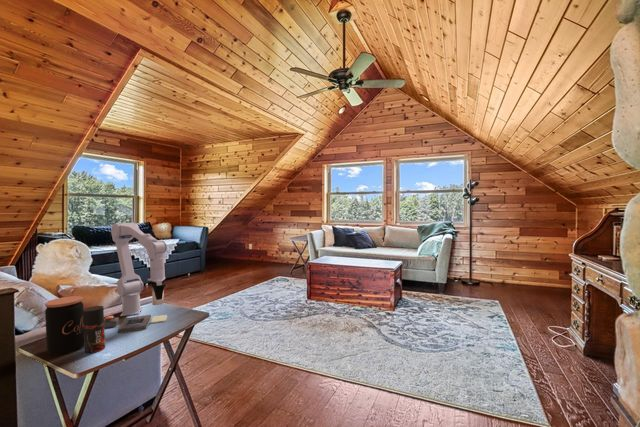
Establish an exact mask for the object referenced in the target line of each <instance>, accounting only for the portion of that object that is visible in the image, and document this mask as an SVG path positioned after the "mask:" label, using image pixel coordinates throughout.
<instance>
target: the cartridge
mask: <svg viewBox="0 0 640 427" xmlns="http://www.w3.org/2000/svg"><path fill="white" fill-rule="evenodd" d="M164 292H165V289H164V290H163V296H162V299H160V300H156V296H155V292H154V289H153V287H152V288H151V293H152V294H151V295H152V300H151V301H152V302H151V304H152V306H161V305H163V304H164V300H165V299H164V297H165V296H164Z"/></svg>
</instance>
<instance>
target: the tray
mask: <svg viewBox="0 0 640 427" xmlns="http://www.w3.org/2000/svg"><path fill="white" fill-rule="evenodd" d="M167 315H168V314H161V315H154V316H152V317H151V320H150V324H157V323H158V324H159V323H164V321H165V322H167V319H168V316H167Z"/></svg>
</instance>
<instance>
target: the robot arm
mask: <svg viewBox="0 0 640 427" xmlns="http://www.w3.org/2000/svg"><path fill="white" fill-rule="evenodd" d="M110 234H111V237H112V241H113V242H114V243H115V247H116V251H117V252H116V253H117V257H118V261H119V266H120V271H121V277H120V278H119V279H118V280H117V281H116V284H117V285H116V292H117V294H118V295H119V297H121V302H122V307H121V309H122V312H121V314H120V315H119V317H127V316H134V314H135V315H139V313H140V314H141V312H142V310H143V307H141V296H140V294H142V293H141V292H142V291H143V290H144V282H143V281H142V279H141V276H140V275H138V274H136V273H135V270H134V264H133V260H132V254H131V250H130V246H129V242H130V241H131V240H133V239H134V238H135V239H137V240H138V243H139V245H141V246H142V247H143V248H144V249H145V250H146V253H147V256H148V259H149V269H150V270H149V271H150V272H149V273H150V278H147V281H148V282H150V285H151V287H152V288H153V289H154V292H155V296H156V300H160V299H162V296H163V290H164V291H165V287H166V282H165V280H166V274H165V268H166V267H165V253H166V252H167V249H168V248H167V247H168V246H167V243H166V242H165V241H164V240H158V239H157V238H155V237H154V236H152V234H150V233H144V232H143V231H142V230H141V229H140V228H139V225H138V224H137V223H136V222H135V221H132V222H121V223H119V222H118V223H116V222H115V223H113V224H112V226H111V229H110ZM140 311H141V312H140Z"/></svg>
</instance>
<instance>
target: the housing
mask: <svg viewBox="0 0 640 427" xmlns="http://www.w3.org/2000/svg"><path fill="white" fill-rule="evenodd" d="M150 318H151V319H152V315H151V314H148V315H147V314H145V315H140V316H139V315H138V316H132V317H131V316H129V317H125V318H124V320H123V321H122V322H121V324H120V326H119V327H118V328H117V333H118V334H122V333H128V332H134V331H141V330H146V329H147V327H148V325H149V323H150V322H151V319H150Z"/></svg>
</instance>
